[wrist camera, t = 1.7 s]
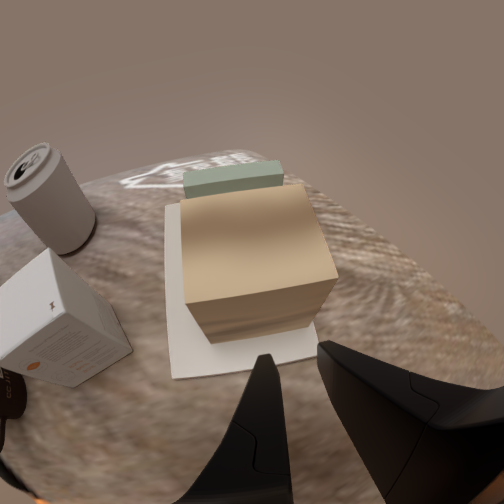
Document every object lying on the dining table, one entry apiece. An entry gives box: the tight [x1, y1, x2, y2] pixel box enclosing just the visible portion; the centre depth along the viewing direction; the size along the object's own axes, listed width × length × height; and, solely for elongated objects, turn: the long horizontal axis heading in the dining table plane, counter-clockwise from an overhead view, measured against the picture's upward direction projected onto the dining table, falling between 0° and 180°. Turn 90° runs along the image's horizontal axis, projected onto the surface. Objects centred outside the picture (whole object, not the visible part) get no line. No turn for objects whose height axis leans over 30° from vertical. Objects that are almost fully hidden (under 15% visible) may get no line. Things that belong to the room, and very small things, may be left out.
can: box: [4, 143, 95, 254], centre depth 23 cm, size 8×8×12 cm
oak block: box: [180, 184, 339, 344], centre depth 19 cm, size 7×8×9 cm
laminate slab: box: [165, 203, 319, 380], centre depth 25 cm, size 18×12×1 cm, turn 10°
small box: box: [0, 247, 133, 388], centre depth 17 cm, size 8×6×10 cm
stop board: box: [183, 160, 284, 199], centre depth 26 cm, size 2×9×5 cm, turn 100°
